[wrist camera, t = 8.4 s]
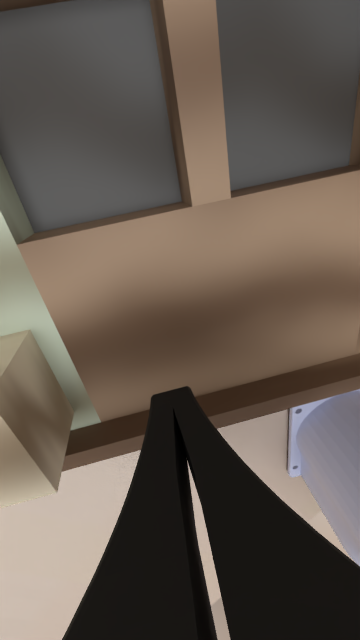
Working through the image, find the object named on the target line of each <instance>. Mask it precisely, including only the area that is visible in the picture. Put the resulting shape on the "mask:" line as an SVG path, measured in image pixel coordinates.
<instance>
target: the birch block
mask: <svg viewBox="0 0 360 640" xmlns="http://www.w3.org/2000/svg"><path fill="white" fill-rule="evenodd" d="M73 416H74V410H73V409H72V407H71V405H70V403H69V401H68V399H67V397H66V396H65V394H64V392H63V390H62V388H61V386H60V384H59V382H58V381H57V379H56V377H55V375H54V373H53V371H52V369H51V368H50V366H49V364H48V362H47V360H46V358H45V356H44V354H43V353H42V351H41V349H40V347H39V345H38V343H37V341H36V339H35V338H34V336H33V334H32V332H31V330H30V329H29V330H25V331H21V332H17V333H13V334H8V335H4V336H0V508H4V507H7V506H11V505H14V504H18V503H22V502H25V501H29V500H32V499H36V498H39V497H43V496H46V495H50V494H53V493H57V491H58V486H59V481H60V477H61V472H62V467H63V463H64V458H65V453H66V449H67V444H68V439H69V435H70V430H71V425H72V421H73Z"/></svg>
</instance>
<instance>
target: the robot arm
mask: <svg viewBox="0 0 360 640" xmlns="http://www.w3.org/2000/svg"><path fill="white" fill-rule="evenodd" d="M187 460H188V463H189V467H190V470H191V473H192V476H193V480H194V483H195V486H196V489H197V492H198V496H199V499H200V502H201V505H202V510H203V514H204V519H205V523H206V528H207V532H208V537H209V541H210V546H211V551H212V555H213V560H214V564H215V569H216V574H217V578H218V583H219V587H220V592H221V597H222V601H223V606H224V611H225V615H226V620H227V624H228V629H229V634H230V638H231V640H360V389H358V390H354V391H351V392H347V393H344V394H340V395H336V396H333V397H329V398H326V399H322V400H318V401H315V402H311V403H308V404H304V405H300V406H297V407H293V408H290V415H289V444H288V474H289V476H290V477H296V476H300V475H301V476H302V478H303V479H304V481H305V483H306V485H307V486H308V488H309V490H310V491H311V493H312V495H313V496H314V498H315V500H316V502H317V503H318V505H319V507H320V508H321V510H322V512H323V514H324V515H325V517H326V519H327V520H328V522H329V524H330V525H331V527H332V529H333V531H334V532H335V534H336V536H337V537H338V539H339V541H340V542H341V544H342V546H343V548H344V549H345V550H346V552H347V553H348V555H349V556H350V557H351V558H352V559H353V560H354V561H355V562H354V561H352V560H351V559H350V558H349V557H347V556H346V555H345V554H344V553H342V552H341V551H340V550H339V549H338V548H336V547H335V546H334V545H333V544H331V543H330V542H329V541H328V540H327V539H326V538H324V537H323V536H322V535H321V534H319V533H318V532H317V531H316V530H315V529H314V528H313V527H311V526H310V525H309V524H308V523H307V522H306V521H305V520H304V519H303V518H301V517H300V516H299V515H298V514H297V513H296V512H295V511H294V510H292V509H291V508H290V507H289V506H288V505H287V504H286V503H285V502H283V501H282V500H281V499H280V498H279V497H278V496H277V495H276V494H275V493H274V492H273V491H272V490H271V489H270V488H269V487H268V486H267V485H266V484H265V483H264V482H263V481H262V480H261V479H260V478H259V477H258V476H257V475H256V474H255V473H254V472H253V471H252V470H251V469H250V468H249V467H248V466H247V465H246V464H245V463H244V461H243V460H242V459H241V458H240V457H239V456H238V455H237V454H236V452H235V451H234V450H233V449H232V448H231V447H230V445H229V444H228V443H227V442H226V441H225V439H224V438H223V437H222V436H221V434H220V433H219V432H218V430H217V429H216V428H215V427H214V425H213V424H212V423H211V421H210V420H209V418H208V417H207V416H206V414H205V413H204V411H203V410H202V408H201V407H200V405H199V403H198V402H197V400H196V398H195V396H194V394H193V392H192V390H191V388H190V387H188V386H185V387H181V388H177V389H173V390H170V391H166V392H162V393H158V394H154V395H153V396H152V397H151V403H150V411H149V417H148V422H147V427H146V432H145V436H144V440H143V444H142V448H141V452H140V456H139V459H138V462H137V466H136V469H135V472H134V476H133V479H132V482H131V485H130V488H129V491H128V494H127V497H126V499H125V502H124V505H123V507H122V510H121V513H120V515H119V518H118V520H117V523H116V525H115V528H114V530H113V533H112V535H111V537H110V540H109V542H108V544H107V547H106V549H105V552H104V554H103V556H102V558H101V561H100V563H99V565H98V567H97V569H96V572H95V574H94V576H93V578H92V580H91V582H90V584H89V586H88V588H87V590H86V592H85V594H84V596H83V598H82V601H81V603H80V605H79V607H78V609H77V611H76V613H75V615H74V617H73V619H72V621H71V623H70V625H69V627H68V629H67V631H66V633H65V635H64V637H63V639H62V640H217V635H216V630H215V625H214V620H213V616H212V611H211V606H210V601H209V596H208V591H207V586H206V581H205V576H204V571H203V566H202V561H201V556H200V551H199V546H198V540H197V534H196V527H195V519H194V511H193V503H192V495H191V488H190V480H189V472H188V464H187ZM357 564H358V565H357Z"/></svg>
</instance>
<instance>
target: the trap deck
mask: <svg viewBox="0 0 360 640" xmlns="http://www.w3.org/2000/svg"><path fill="white" fill-rule="evenodd" d="M29 329H30V330H31V332H32V334H33V336H34V338H35V339H36V341H37V343H38V345H39V347H40V349H41V351H42V353H43V354H44V356H45V358H46V360H47V362H48V364H49V366H50V368H51V369H52V371H53V373H54V375H55V377H56V379H57V381H58V382H59V384H60V386H61V388H62V390H63V392H64V394H65V396H66V397H67V399H68V401H69V403H70V405H71V407H72V409H73V410H74V416H73V421H72V425H71V430H70V435H69V439H68V444H67V449H66V453H65V458H64V463H63V467H62V471H66V470H69V469H73V468H76V467H80V466H84V465H87V464H91V463H95V462H98V461H102V460H105V459H109V458H113V457H116V456H120V455H123V454H127V453H131V452H134V451H138V450H141V448H142V444H143V440H144V436H145V432H146V427H147V422H148V417H149V411H150V403H151V397H152V396H153V395H154V394H158V393H162V392H166V391H170V390H173V389H177V388H181V387H185V386H188V387H190V388H191V390H192V392H193V394H194V396H195V398H196V400H197V402H198V403H199V405H200V407H201V408H202V410H203V411H204V413H205V414H206V416H207V417H208V418H209V420H210V421H211V423H212V424H213V425H214V427H215V428H216V429H217V428H221V427H225V426H228V425H232V424H235V423H239V422H243V421H246V420H250V419H253V418H257V417H261V416H264V415H268V414H271V413H275V412H279V411H282V410H286V409H289V408H293V407H297V406H300V405H304V404H308V403H311V402H315V401H318V400H322V399H326V398H329V397H333V396H336V395H340V394H344V393H347V392H351V391H354V390H358V389H360V0H0V336H4V335H8V334H13V333H17V332H21V331H25V330H29Z"/></svg>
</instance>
